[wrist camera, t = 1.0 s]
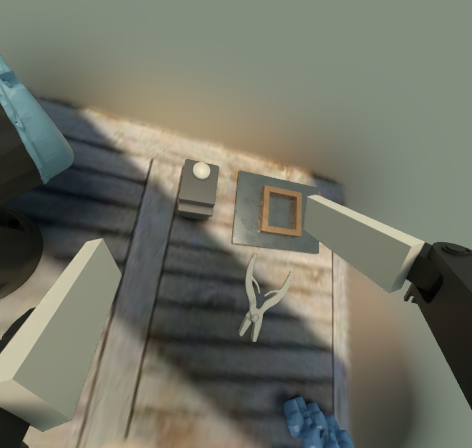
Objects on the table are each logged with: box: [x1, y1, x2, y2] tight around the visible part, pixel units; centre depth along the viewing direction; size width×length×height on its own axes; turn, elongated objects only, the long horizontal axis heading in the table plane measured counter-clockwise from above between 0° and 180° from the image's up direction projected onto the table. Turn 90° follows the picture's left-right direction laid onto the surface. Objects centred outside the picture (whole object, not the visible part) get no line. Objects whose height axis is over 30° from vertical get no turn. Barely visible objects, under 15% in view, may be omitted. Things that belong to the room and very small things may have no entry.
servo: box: [178, 159, 219, 221], centre depth 31 cm, size 5×8×12 cm, turn 175°
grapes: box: [283, 397, 354, 448], centre depth 28 cm, size 12×7×12 cm, turn 66°
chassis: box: [232, 170, 319, 254], centre depth 40 cm, size 20×16×2 cm
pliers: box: [238, 253, 293, 342], centre depth 36 cm, size 10×2×15 cm
